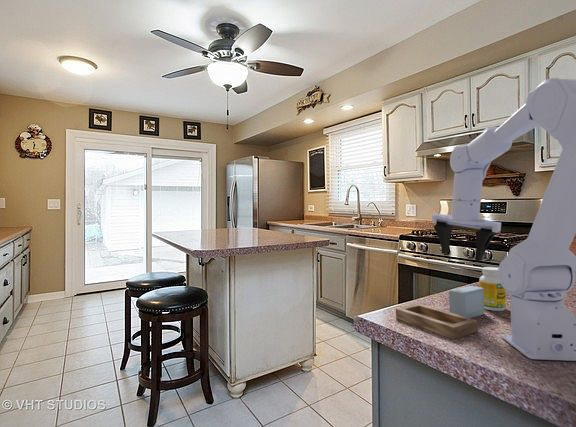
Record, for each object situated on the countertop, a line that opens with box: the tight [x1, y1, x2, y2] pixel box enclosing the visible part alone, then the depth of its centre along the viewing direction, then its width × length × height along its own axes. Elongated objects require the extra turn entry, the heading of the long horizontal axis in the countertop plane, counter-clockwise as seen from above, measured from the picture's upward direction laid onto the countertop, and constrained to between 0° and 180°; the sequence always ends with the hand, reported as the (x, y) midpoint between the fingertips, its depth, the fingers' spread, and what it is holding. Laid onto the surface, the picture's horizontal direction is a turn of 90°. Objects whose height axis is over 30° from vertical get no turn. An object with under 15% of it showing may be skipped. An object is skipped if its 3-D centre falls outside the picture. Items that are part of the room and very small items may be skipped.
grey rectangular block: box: [448, 285, 485, 319], centre depth 74 cm, size 8×3×6 cm, turn 118°
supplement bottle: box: [478, 266, 507, 312], centre depth 79 cm, size 5×5×10 cm
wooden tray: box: [395, 303, 479, 340], centre depth 69 cm, size 14×7×2 cm, turn 28°
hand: (461, 256), depth 77 cm, fingers open, 7 cm apart
